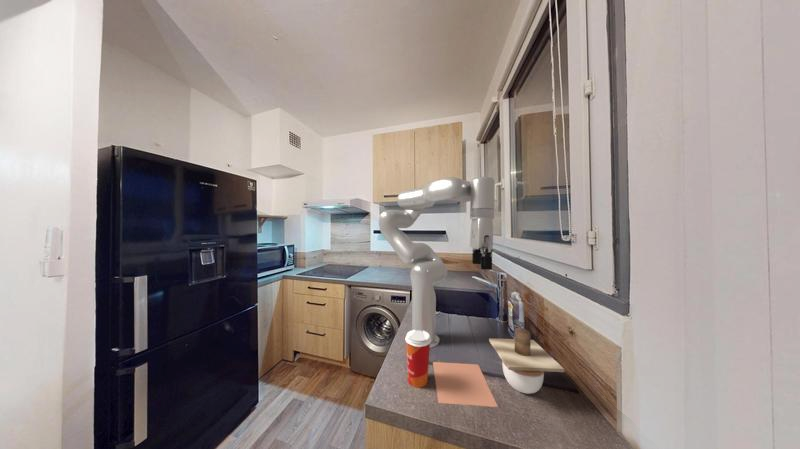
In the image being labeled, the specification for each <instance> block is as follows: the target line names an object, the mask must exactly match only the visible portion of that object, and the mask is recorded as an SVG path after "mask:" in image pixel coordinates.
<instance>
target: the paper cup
mask: <svg viewBox="0 0 800 449" xmlns="http://www.w3.org/2000/svg"><path fill="white" fill-rule="evenodd" d="M404 339H405V342H406V364H407V366H406V369H407V381H408V384H409V385H410V386H412V387H413V388H424V387H425V386H427V383H428V376H429V363H430V361H429V360H430V343H431V338H430V335H429V334H428V333H427V332H426V331H421V330H418V331H417V330H412V329H411V330H410V331H408V332H407V333H406V336H405V338H404Z"/></svg>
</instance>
